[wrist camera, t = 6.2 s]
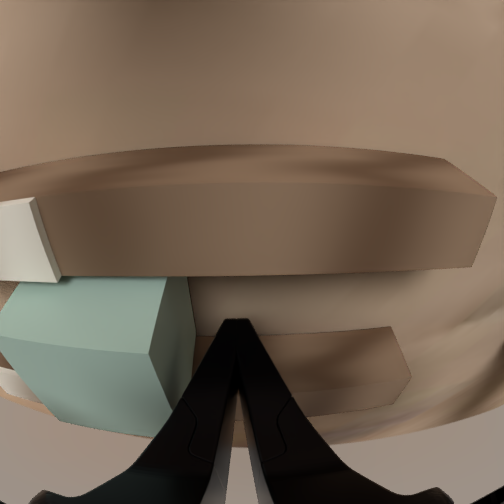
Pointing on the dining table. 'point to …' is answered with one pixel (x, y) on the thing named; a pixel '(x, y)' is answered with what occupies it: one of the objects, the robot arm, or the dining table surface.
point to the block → (103, 348)
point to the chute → (250, 238)
